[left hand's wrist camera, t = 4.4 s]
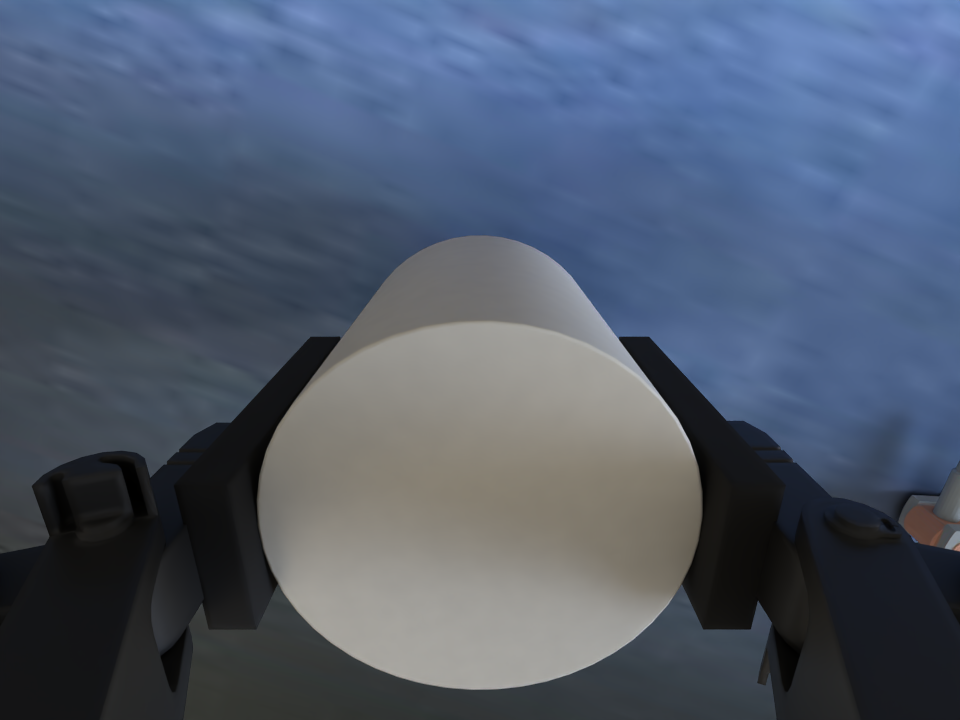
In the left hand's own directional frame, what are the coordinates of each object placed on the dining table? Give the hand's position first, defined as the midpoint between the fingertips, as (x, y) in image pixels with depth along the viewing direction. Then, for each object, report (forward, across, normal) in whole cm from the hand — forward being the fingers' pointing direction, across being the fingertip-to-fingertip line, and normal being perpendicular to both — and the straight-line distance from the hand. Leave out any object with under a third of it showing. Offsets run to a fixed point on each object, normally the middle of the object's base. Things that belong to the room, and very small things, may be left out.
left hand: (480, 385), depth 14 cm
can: (+2, 0, 0) cm, 2 cm away
